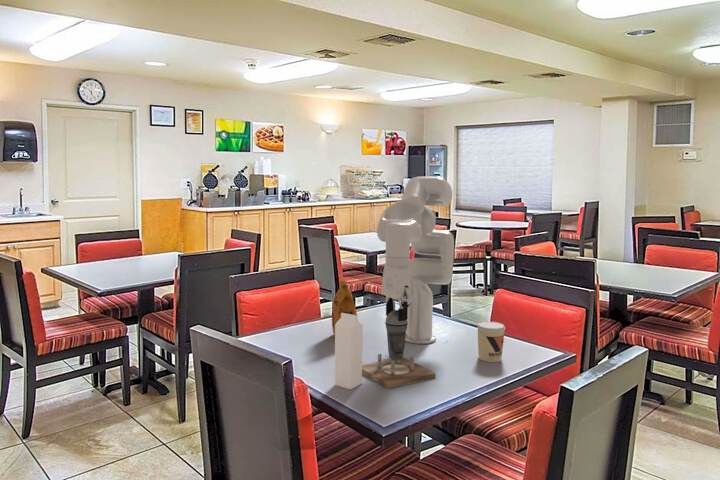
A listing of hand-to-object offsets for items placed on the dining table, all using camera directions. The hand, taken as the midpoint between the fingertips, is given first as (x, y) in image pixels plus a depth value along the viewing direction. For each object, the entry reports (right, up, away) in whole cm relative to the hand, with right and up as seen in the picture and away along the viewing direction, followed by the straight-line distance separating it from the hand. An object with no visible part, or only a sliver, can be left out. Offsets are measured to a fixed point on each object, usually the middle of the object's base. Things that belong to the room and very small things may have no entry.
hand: (396, 317), depth 180 cm
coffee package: (-17, -14, +41) cm, 46 cm away
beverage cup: (0, -13, +2) cm, 13 cm away
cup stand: (0, -18, +2) cm, 19 cm away
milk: (-15, -20, -7) cm, 26 cm away
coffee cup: (+34, -17, +18) cm, 42 cm away
